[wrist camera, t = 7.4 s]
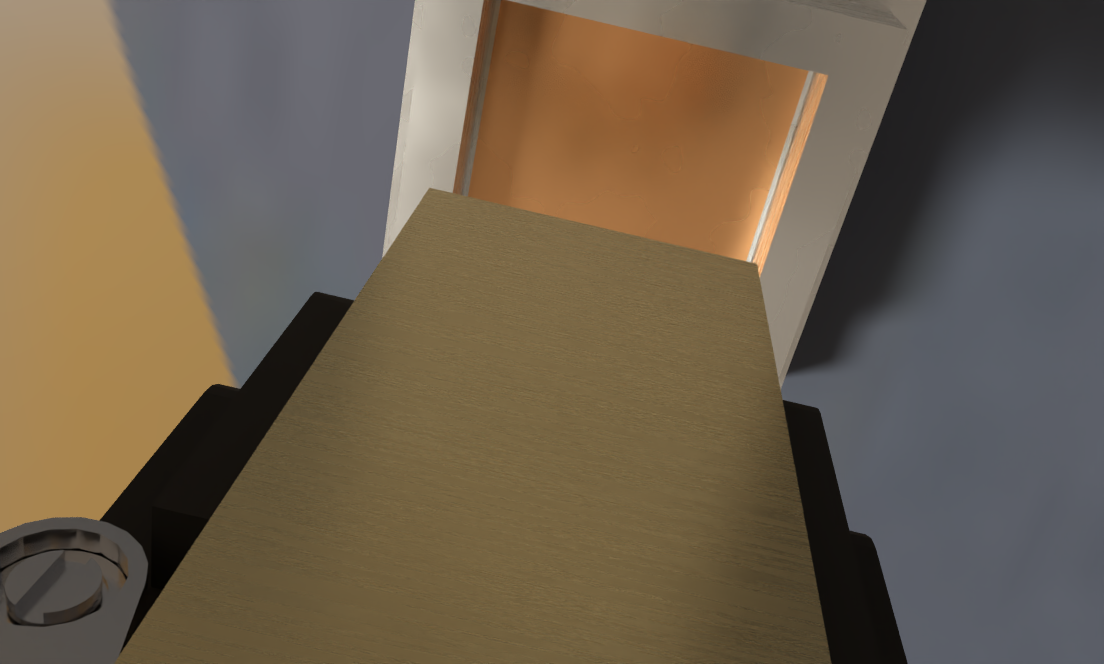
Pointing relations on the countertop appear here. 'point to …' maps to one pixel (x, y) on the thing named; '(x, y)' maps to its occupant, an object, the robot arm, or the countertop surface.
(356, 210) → the countertop surface
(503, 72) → the white boxy piece
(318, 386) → the square wooden post
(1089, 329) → the countertop surface
